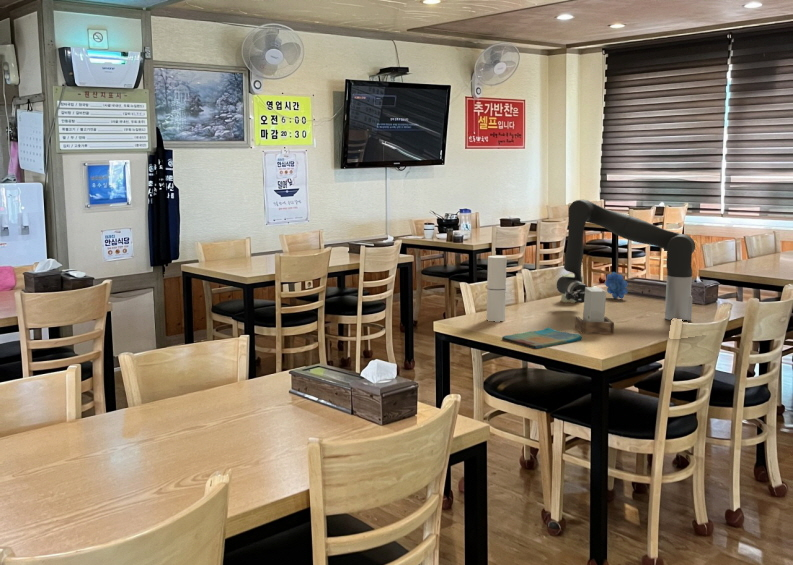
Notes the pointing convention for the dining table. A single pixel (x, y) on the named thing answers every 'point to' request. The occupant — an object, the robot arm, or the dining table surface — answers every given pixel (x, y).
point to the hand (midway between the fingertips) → (588, 298)
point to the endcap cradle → (595, 326)
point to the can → (564, 294)
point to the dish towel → (542, 338)
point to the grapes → (616, 285)
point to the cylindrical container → (496, 288)
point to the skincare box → (594, 304)
